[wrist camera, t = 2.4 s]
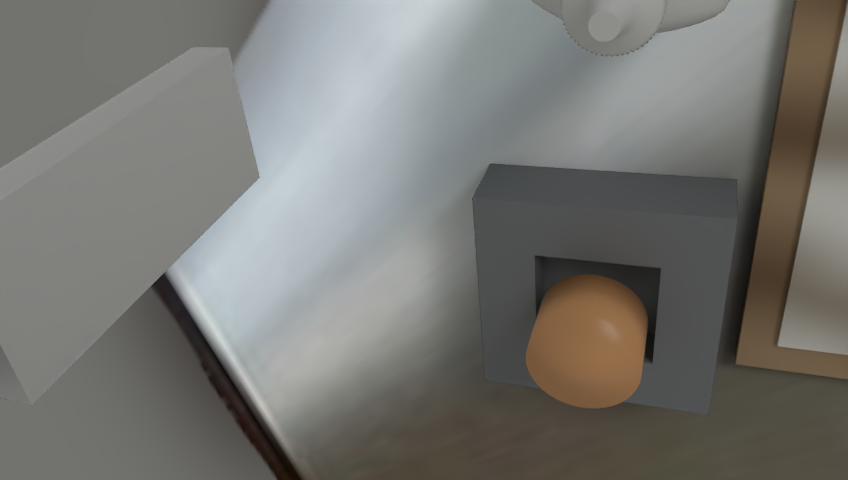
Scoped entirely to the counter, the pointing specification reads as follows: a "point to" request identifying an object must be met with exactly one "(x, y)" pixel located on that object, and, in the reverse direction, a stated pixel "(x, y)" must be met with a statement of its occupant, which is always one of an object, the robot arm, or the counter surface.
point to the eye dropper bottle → (627, 20)
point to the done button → (588, 342)
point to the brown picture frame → (804, 208)
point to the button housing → (608, 265)
